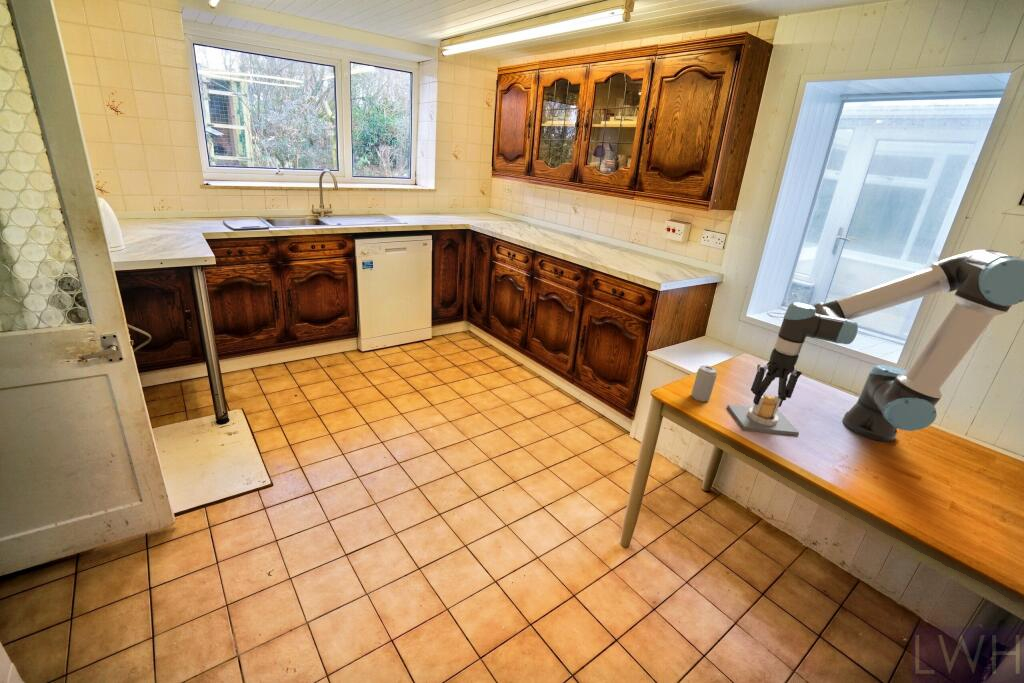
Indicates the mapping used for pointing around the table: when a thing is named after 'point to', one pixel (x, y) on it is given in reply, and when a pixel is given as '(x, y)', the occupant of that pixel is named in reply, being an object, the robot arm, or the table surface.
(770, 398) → the nesting doll
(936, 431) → the table surface
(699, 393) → the beverage can
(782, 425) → the collar board
